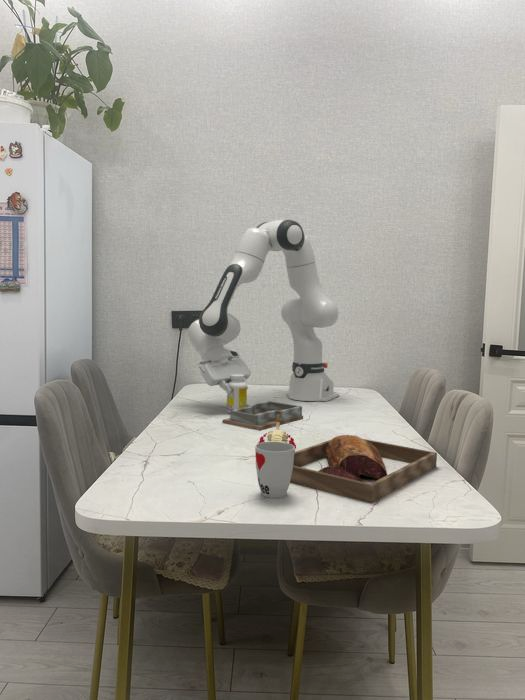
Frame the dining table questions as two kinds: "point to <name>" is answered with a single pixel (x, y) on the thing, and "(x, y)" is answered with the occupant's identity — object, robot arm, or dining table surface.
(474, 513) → the dining table surface
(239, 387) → the supplement bottle
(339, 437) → the cured meat
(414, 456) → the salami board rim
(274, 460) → the cup
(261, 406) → the keyhole dock
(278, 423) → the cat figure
